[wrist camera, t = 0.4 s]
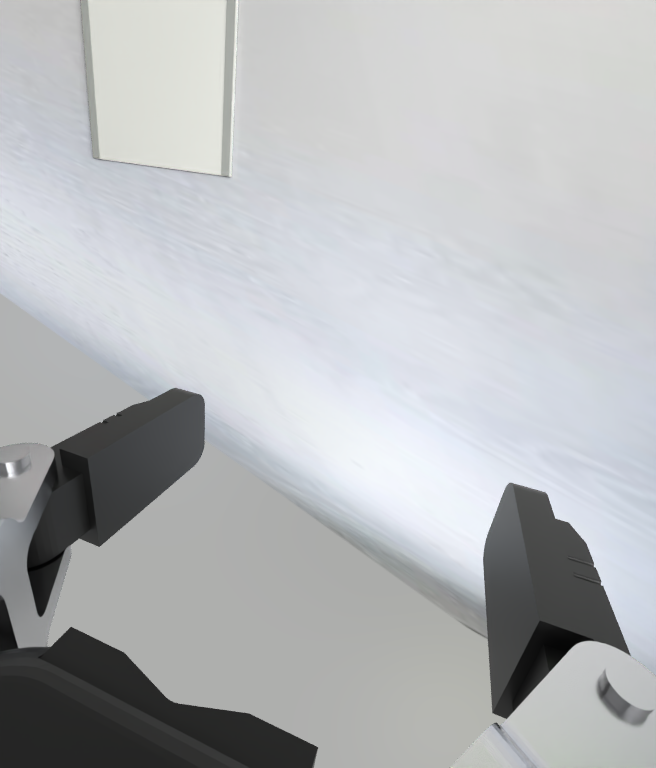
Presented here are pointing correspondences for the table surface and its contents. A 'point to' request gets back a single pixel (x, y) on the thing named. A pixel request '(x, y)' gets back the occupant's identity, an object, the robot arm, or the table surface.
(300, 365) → the table surface
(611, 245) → the table surface
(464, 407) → the table surface
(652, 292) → the table surface
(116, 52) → the mat
